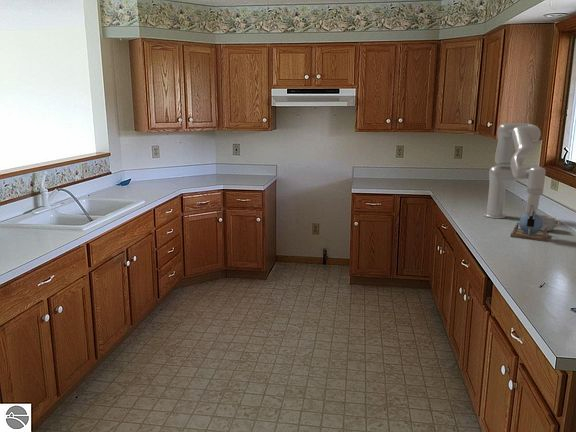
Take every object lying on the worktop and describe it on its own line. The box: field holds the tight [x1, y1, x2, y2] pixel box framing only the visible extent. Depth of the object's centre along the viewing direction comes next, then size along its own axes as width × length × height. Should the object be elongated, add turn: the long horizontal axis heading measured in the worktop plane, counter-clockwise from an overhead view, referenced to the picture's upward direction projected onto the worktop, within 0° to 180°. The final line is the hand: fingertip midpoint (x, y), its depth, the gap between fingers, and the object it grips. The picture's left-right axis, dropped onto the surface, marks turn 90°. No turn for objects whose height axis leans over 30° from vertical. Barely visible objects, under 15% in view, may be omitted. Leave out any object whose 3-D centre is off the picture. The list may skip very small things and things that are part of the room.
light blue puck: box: [518, 212, 543, 236], centre depth 255 cm, size 2×11×12 cm, turn 59°
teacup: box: [538, 214, 561, 232], centre depth 269 cm, size 14×11×8 cm
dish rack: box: [510, 222, 550, 242], centre depth 258 cm, size 15×17×5 cm
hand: (530, 225), depth 255 cm, fingers closed on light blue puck, 2 cm apart
